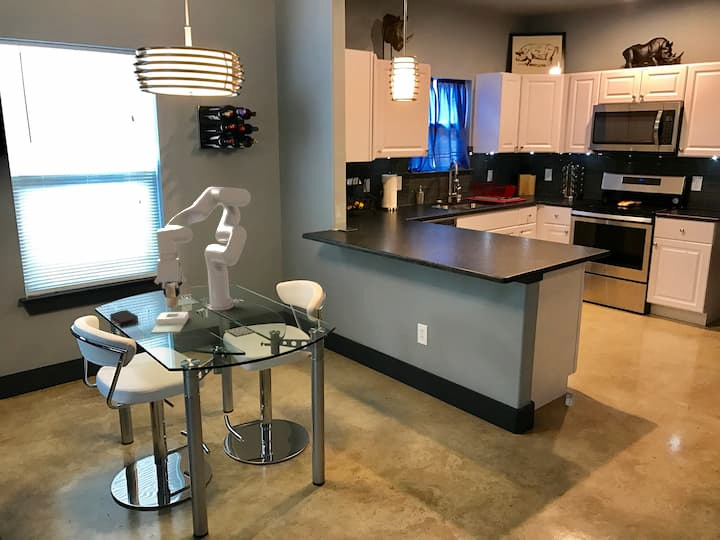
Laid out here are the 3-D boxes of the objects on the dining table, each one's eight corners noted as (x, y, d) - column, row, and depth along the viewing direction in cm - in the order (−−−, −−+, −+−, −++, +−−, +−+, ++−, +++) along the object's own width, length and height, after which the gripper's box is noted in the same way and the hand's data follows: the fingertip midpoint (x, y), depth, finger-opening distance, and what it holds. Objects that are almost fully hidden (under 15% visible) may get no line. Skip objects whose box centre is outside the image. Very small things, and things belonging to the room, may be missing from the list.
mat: (184, 326, 255) (183, 324, 255) (179, 333, 246) (179, 331, 246) (156, 327, 254) (156, 325, 254) (151, 334, 245) (150, 332, 245)
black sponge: (140, 324, 259) (139, 317, 258) (121, 328, 253) (120, 320, 252) (127, 316, 270) (126, 309, 270) (108, 320, 265) (107, 312, 264)
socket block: (188, 318, 266) (188, 311, 265) (184, 325, 256) (183, 318, 255) (162, 319, 264) (161, 312, 264) (156, 326, 255) (156, 319, 254)
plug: (178, 304, 261) (176, 283, 259) (176, 307, 257) (174, 285, 255) (169, 305, 261) (167, 283, 258) (167, 307, 257) (165, 286, 254)
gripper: (188, 253, 258) (192, 293, 262) (150, 255, 256) (154, 294, 261) (185, 257, 250) (189, 297, 255) (146, 259, 249) (150, 299, 253)
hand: (171, 295), depth 258 cm, fingers closed on plug, 4 cm apart
